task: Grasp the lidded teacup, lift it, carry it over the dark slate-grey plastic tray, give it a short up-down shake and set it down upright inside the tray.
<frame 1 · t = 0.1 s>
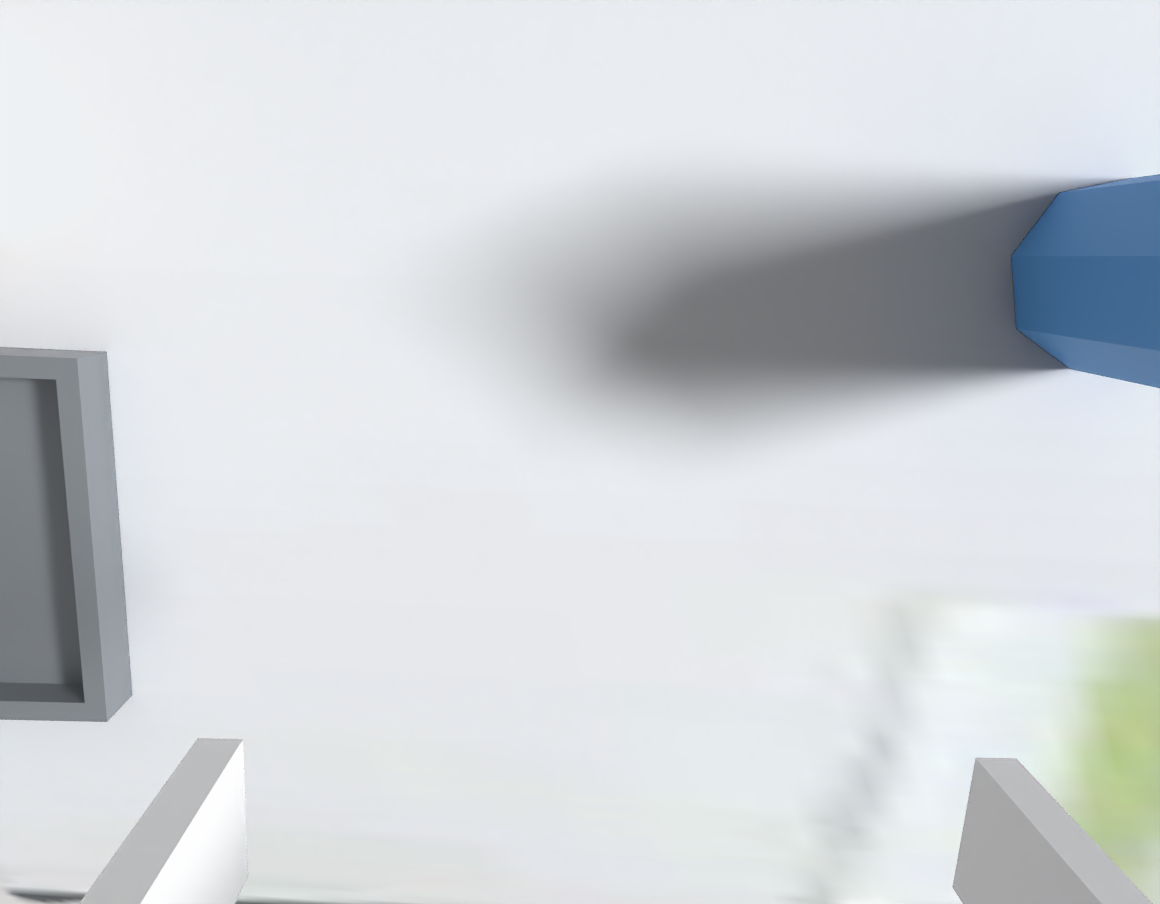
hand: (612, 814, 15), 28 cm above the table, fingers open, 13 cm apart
water bottle: (1097, 275, 42), on the table
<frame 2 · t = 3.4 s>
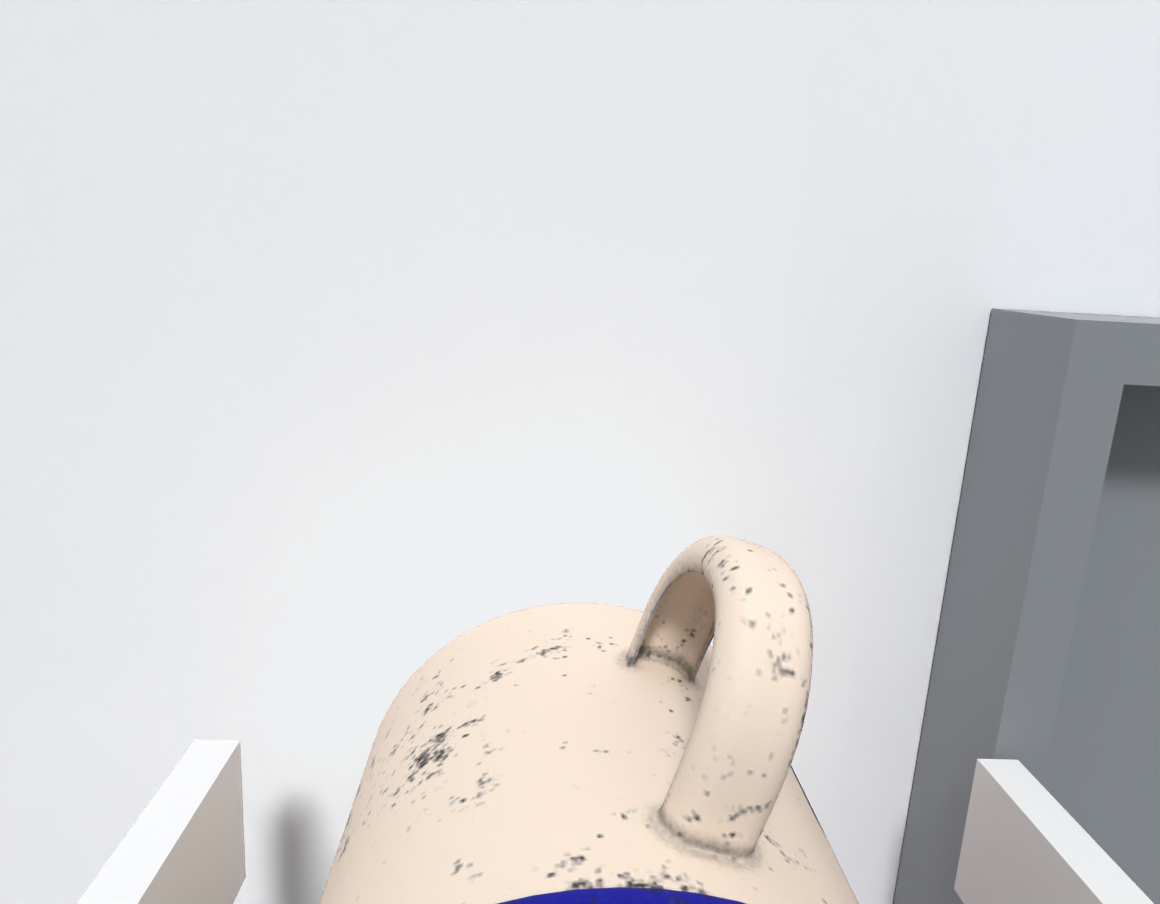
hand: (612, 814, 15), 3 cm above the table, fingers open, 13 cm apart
teacup with lid: (595, 719, 18), on the table
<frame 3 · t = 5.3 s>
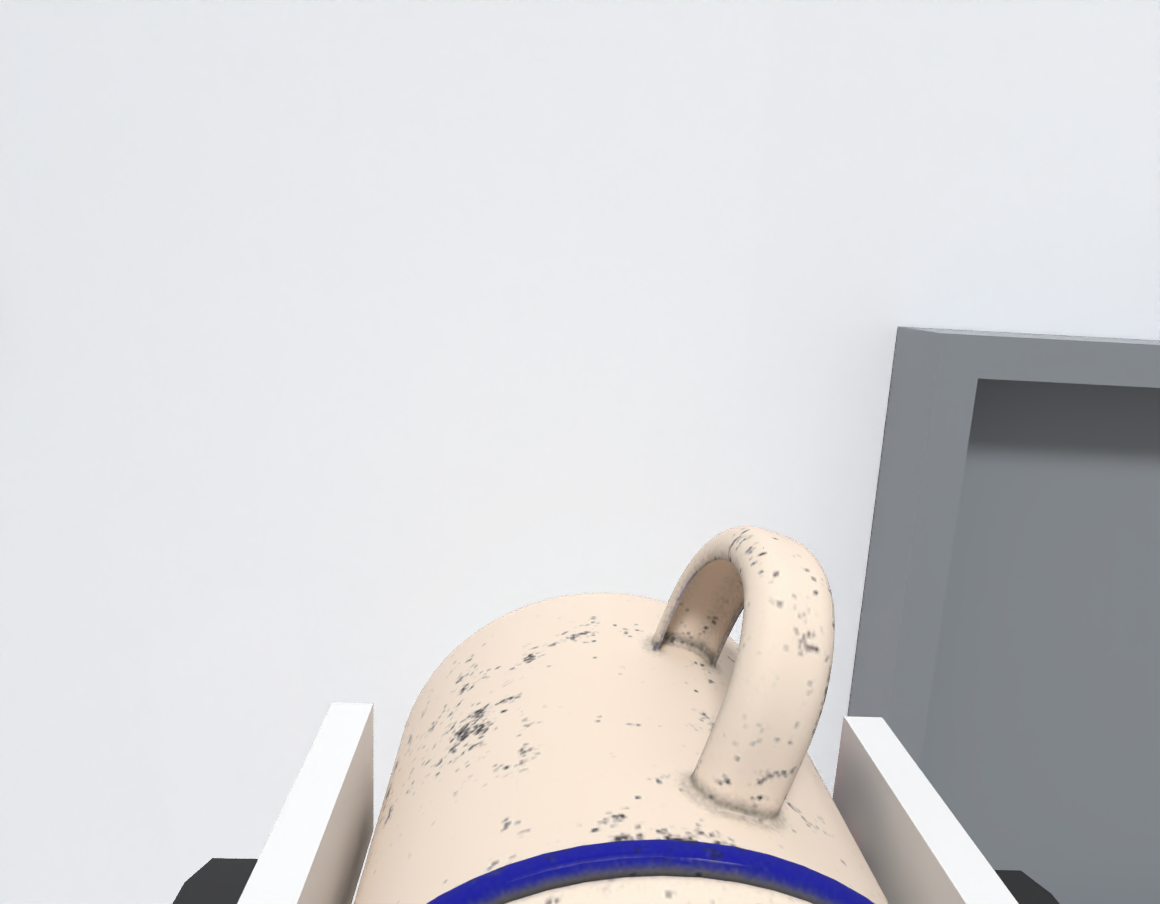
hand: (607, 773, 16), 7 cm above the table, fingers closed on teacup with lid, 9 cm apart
teacup with lid: (616, 705, 19), point 5 cm above the table, touching gripper
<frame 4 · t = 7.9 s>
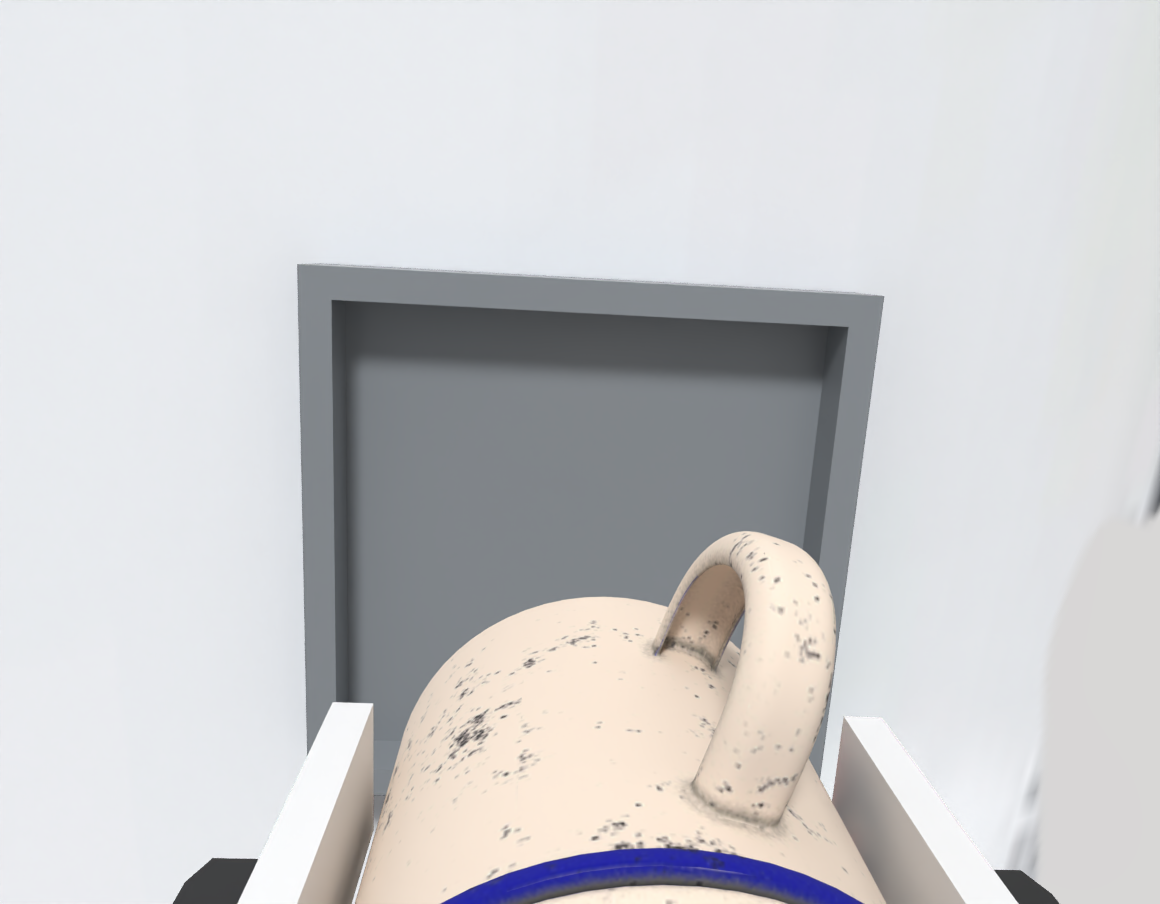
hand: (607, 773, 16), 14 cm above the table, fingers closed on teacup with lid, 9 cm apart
tray: (577, 533, 30), on the table
teacup with lid: (616, 709, 19), point 12 cm above the table, touching gripper
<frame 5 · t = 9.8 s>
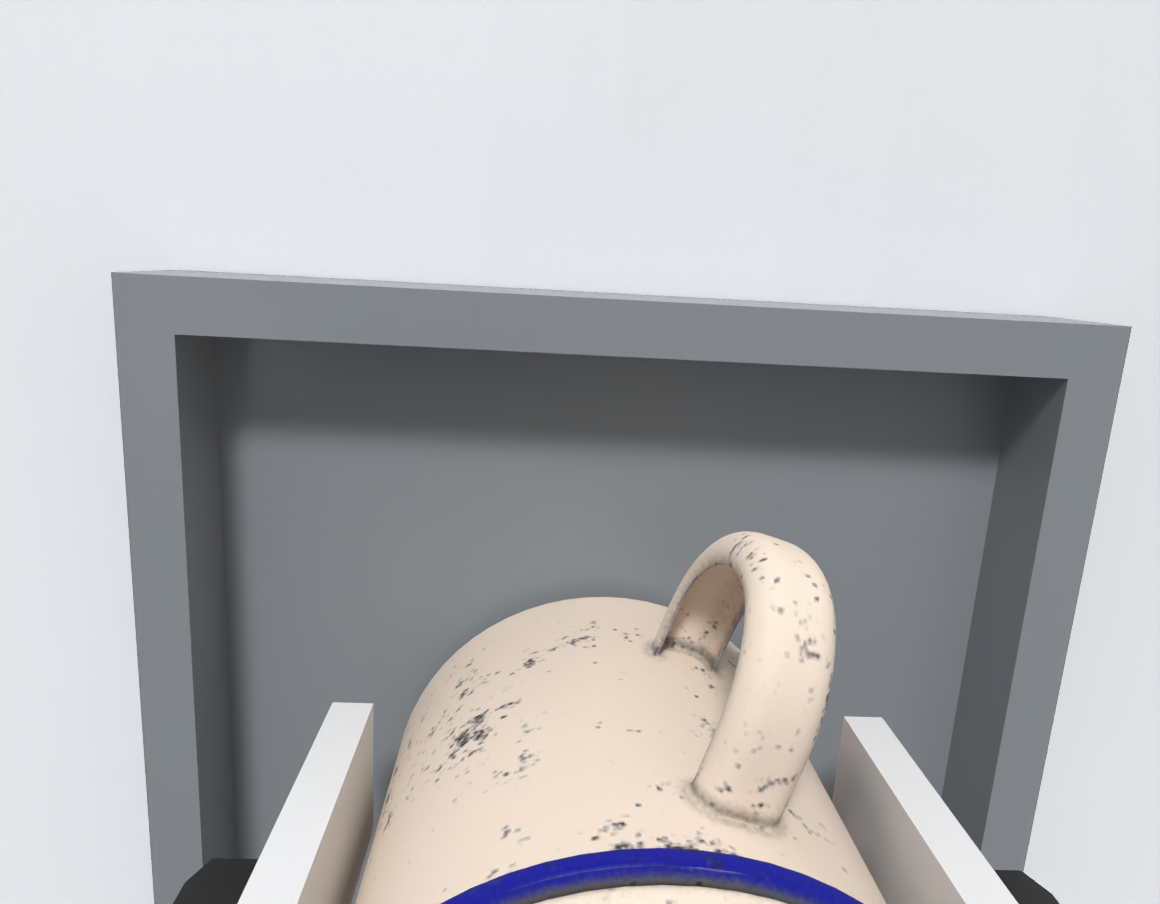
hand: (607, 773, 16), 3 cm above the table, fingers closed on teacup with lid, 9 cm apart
tray: (598, 692, 19), on the table
teacup with lid: (616, 709, 19), point 1 cm above the table, touching gripper
when the fingers open (3 cm above the table, at t = 10.7 s): teacup with lid stays where it is, resting on tray.
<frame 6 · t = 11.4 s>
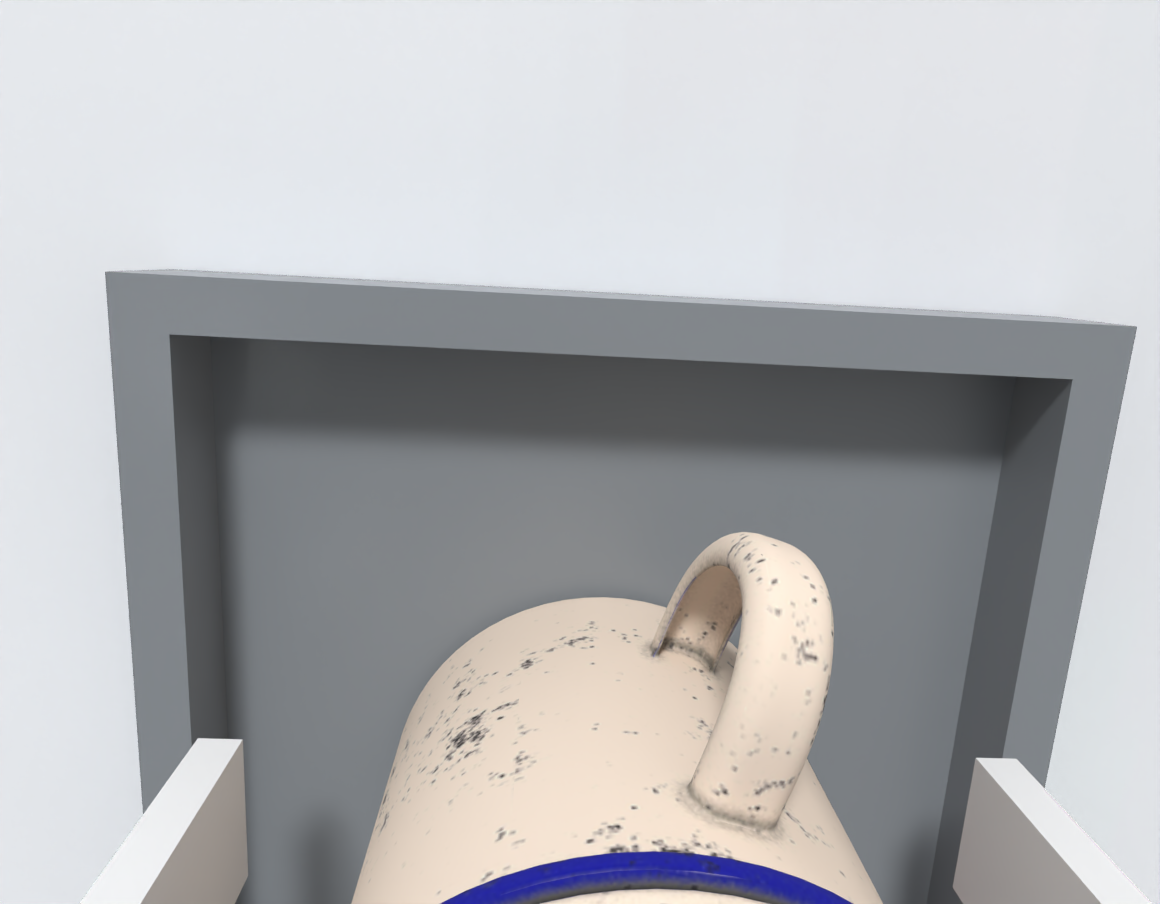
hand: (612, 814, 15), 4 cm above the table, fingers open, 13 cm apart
tray: (597, 695, 19), on the table
teacup with lid: (615, 710, 19), point 1 cm above the table, touching tray
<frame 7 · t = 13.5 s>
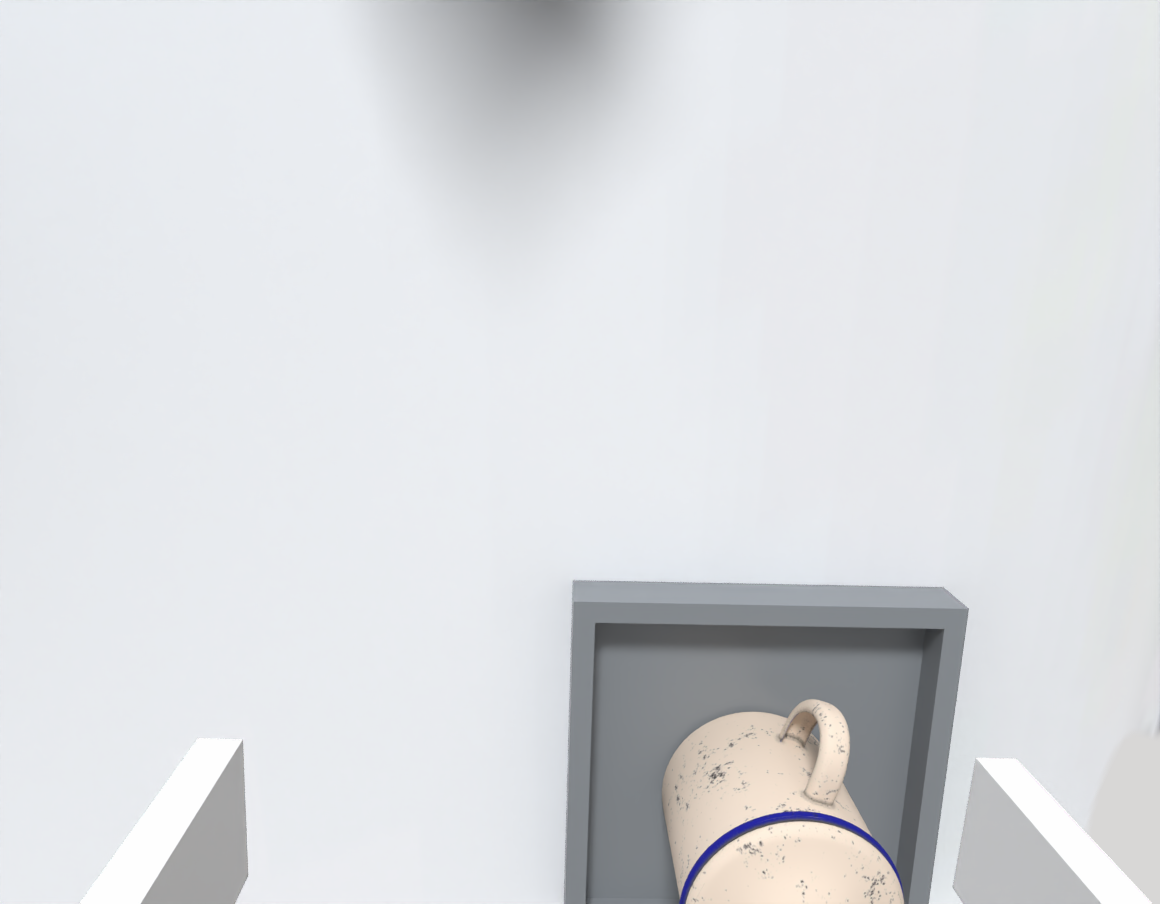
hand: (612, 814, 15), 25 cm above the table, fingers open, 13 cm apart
tray: (746, 751, 43), on the table
teacup with lid: (755, 758, 42), point 1 cm above the table, touching tray
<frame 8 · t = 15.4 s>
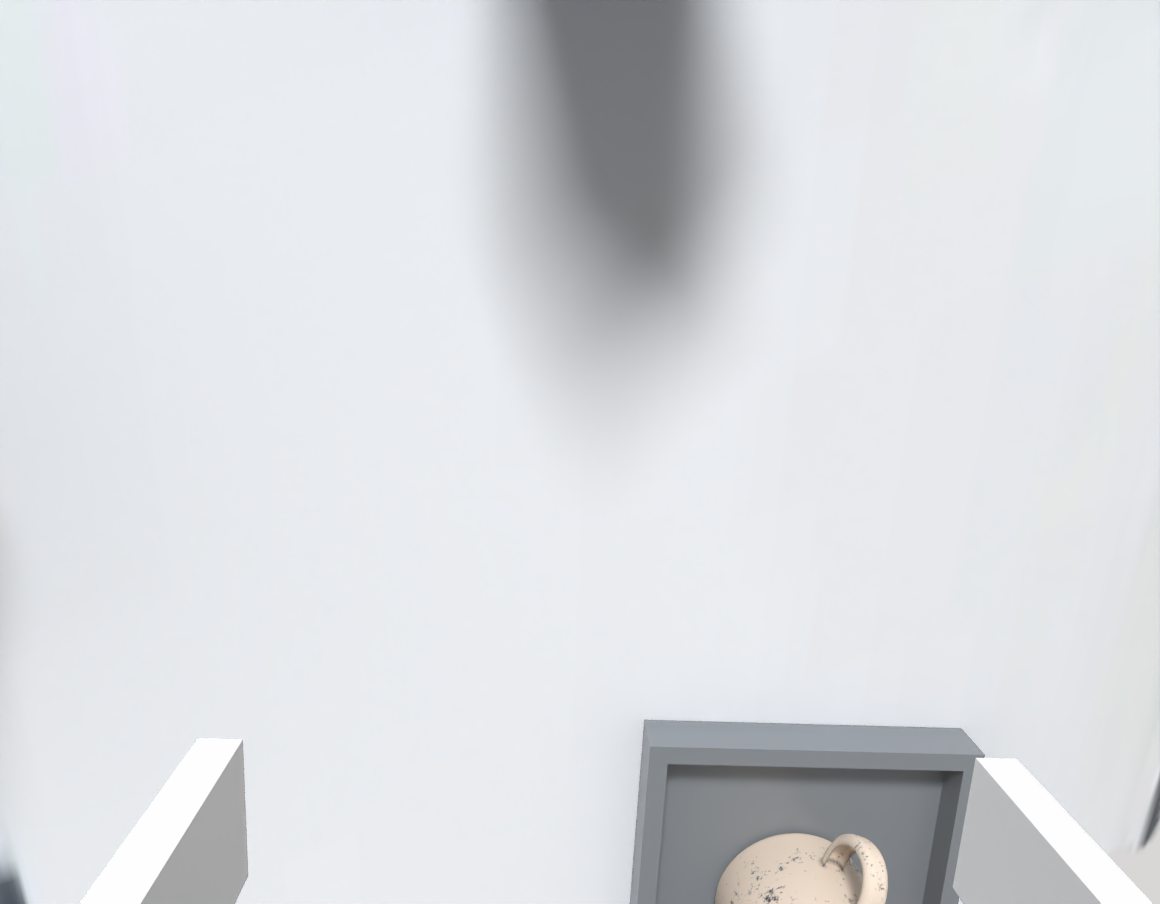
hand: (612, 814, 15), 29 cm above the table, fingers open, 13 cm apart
tray: (786, 863, 49), on the table
teacup with lid: (795, 871, 49), point 1 cm above the table, touching tray
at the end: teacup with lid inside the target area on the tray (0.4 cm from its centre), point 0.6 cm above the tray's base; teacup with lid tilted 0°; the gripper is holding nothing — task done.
